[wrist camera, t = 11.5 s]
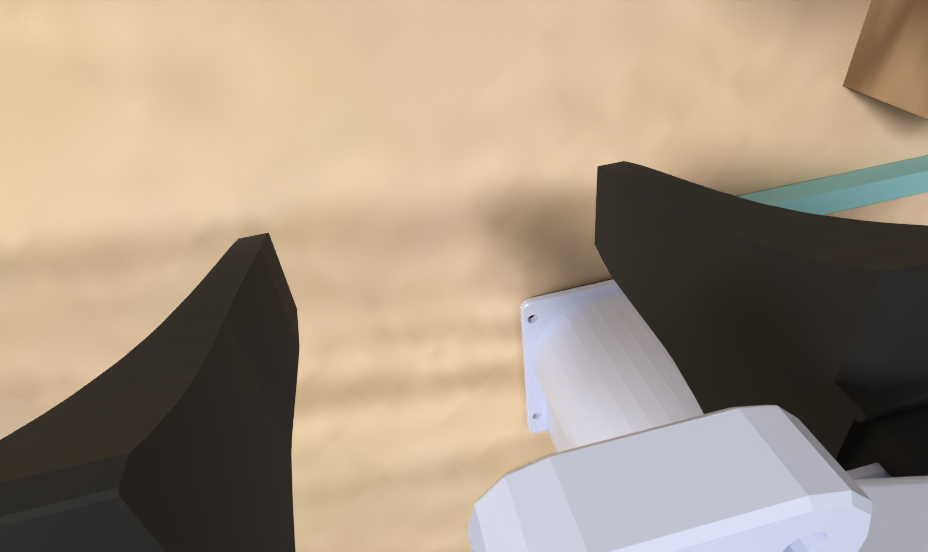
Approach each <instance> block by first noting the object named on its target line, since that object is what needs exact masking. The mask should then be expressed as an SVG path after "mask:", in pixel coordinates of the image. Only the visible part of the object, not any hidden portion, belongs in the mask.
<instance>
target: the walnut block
mask: <svg viewBox="0 0 928 552" xmlns="http://www.w3.org/2000/svg"><path fill="white" fill-rule="evenodd" d="M843 86H845V87H848V88H850V89H853V90H855V91H858V92H860V93H863V94H865V95H868V96H870V97H873V98H875V99H878V100H880V101H883V102H885V103H888V104H891V105H893V106H896V107H898V108H901V109H903V110H906V111H908V112H911V113H913V114H916V115H918V116H921V117H923V118H926V119H928V0H872V1H871V4H870V7H869V10H868V13H867V16H866V19H865V22H864V25H863V28H862V31H861V34H860V36H859V39H858V42H857V45H856V48H855V51H854V54H853V57H852V60H851V63H850V66H849V69H848V72H847V75H846V78H845V81H844V84H843Z"/></svg>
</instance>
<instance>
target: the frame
mask: <svg viewBox="0 0 928 552" xmlns="http://www.w3.org/2000/svg"><path fill="white" fill-rule="evenodd" d="M925 192H928V156H923V157H918V158H914V159H909V160H904V161H900V162H895V163H890V164H885V165H881V166H876V167H871V168H867V169H862V170H857V171H853V172H848V173H843V174H839V175H834V176H829V177H825V178H820V179H815V180H811V181H806V182H801V183H797V184H792V185H787V186H783V187H778V188H773V189H768V190H764V191H759V192H754V193H750V194H745V195H740V196H737V197H740V198H744V199H747V200H751V201H755V202H759V203H763V204H767V205H771V206H776V207H781V208H786V209H791V210H795V211H800V212H806V213H812V214H818V215H826V214H830V213H835V212H839V211H844V210H848V209H853V208H857V207H862V206H866V205H871V204H875V203H880V202H884V201H889V200H893V199H898V198H902V197H907V196H911V195H916V194H920V193H925Z"/></svg>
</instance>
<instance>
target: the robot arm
mask: <svg viewBox="0 0 928 552" xmlns="http://www.w3.org/2000/svg"><path fill="white" fill-rule="evenodd" d="M595 246H596V248H597V250H598V252H599V254H600V256H601V258H602V260H603V262H604V263H605V265H606V267H607V269H608V271H609V272H610V274H611V276H612V278H613V280H608V281H604V282H599V283H595V284H590V285H586V286H582V287H577V288H573V289H568V290H564V291H559V292H555V293H551V294H546V295H542V296H537V297H533V298H529V299H526V300H525V301H524V302H523V303H522V304H521V306H520V316H521V333H522V349H523V365H524V381H525V397H526V413H527V426H528V428H529V431H530V432H532V433H539V432H543V431H547V430H548V432H549V434H550V437H551V439H552V441H553V444H554V446H555V448H556V451H557V453H553V454H549V455H546V456H543V457H541V458H539V459H536V460H534V461H532V462H529V463H527V464H525V465H522V466H520V467H518V468H515V469H513V470H511V471H508V472H507V473H506V474H505V475H503V476H502V477H501V478H500V479H499V480H498V481H497V482H496V483H495V484H494V485H493V486H492V487H491V488H489V489H488V490H487V491H486V492H485V493H484V494H483V495H482V496H481V497H480V498H479V499H478V501H477V502H476V503H475V505H474V509H473V513H472V516H471V520H470V524H469V528H468V537H469V542H470V547H471V552H928V226H924V225H909V224H894V223H882V222H871V221H861V220H853V219H846V218H839V217H831V216H824V215H818V214H812V213H806V212H800V211H795V210H791V209H786V208H781V207H776V206H771V205H767V204H763V203H759V202H755V201H751V200H747V199H744V198H740V197H737V196H733V195H730V194H726V193H723V192H720V191H716V190H713V189H710V188H707V187H704V186H701V185H698V184H695V183H692V182H689V181H686V180H683V179H680V178H677V177H674V176H672V175H669V174H666V173H663V172H660V171H657V170H654V169H651V168H648V167H645V166H641V165H638V164H634V163H630V162H625V161H622V162H617V163H613V164H608V165H603V166H598V170H597V196H596V222H595ZM531 315H535V316H534V317H532V318H529V317H530V316H531ZM298 359H299V332H298V318H297V308H296V305H295V303H294V300H293V297H292V294H291V292H290V289H289V286H288V284H287V281H286V278H285V276H284V273H283V270H282V268H281V265H280V262H279V259H278V257H277V254H276V251H275V249H274V246H273V243H272V241H271V238H270V235H269V233H265V234H260V235H255V236H250V237H245V238H240V239H238V240H237V241H236V242H235V243H234V244H233V245H232V246H231V247H230V248H229V250H228V251H227V252H226V253H225V254H224V255H223V257H222V258H221V259H220V260H219V261H218V263H217V264H216V265H215V266H214V267H213V268H212V270H211V271H210V272H209V273H208V274H207V275H206V277H205V278H204V279H203V280H202V281H201V282H200V283H199V285H198V286H197V287H196V288H195V289H194V290H193V291H192V293H191V294H190V295H189V296H188V297H187V298H186V299H185V300H184V301H183V302H182V303H181V304H180V305H179V306H178V307H177V308H176V309H175V310H174V311H173V312H172V313H171V314H170V315H169V316H168V317H167V318H166V320H165V321H164V322H163V323H162V324H161V325H160V326H158V327H157V328H156V329H155V330H154V331H153V332H152V333H151V334H150V335H149V336H148V337H147V338H145V339H144V340H143V341H142V342H141V343H140V344H139V345H137V346H136V347H135V348H134V349H133V350H131V351H130V352H129V353H128V354H127V355H126V356H124V357H123V358H122V359H121V360H119V361H118V362H117V363H116V364H114V365H113V366H112V367H110V368H109V369H108V370H106V371H105V372H103V373H102V374H101V375H99V376H98V377H97V378H95V379H94V380H92V381H91V382H90V383H88V384H87V385H86V386H84V387H83V388H81V389H80V390H79V391H77V392H76V393H75V394H73V395H72V396H70V397H69V398H67V399H66V400H64V401H63V402H61V403H60V404H58V405H57V406H55V407H54V408H52V409H50V410H49V411H47V412H46V413H44V414H43V415H41V416H40V417H38V418H36V419H35V420H33V421H31V422H30V423H28V424H27V425H25V426H23V427H21V428H20V429H18V430H16V431H15V432H13V433H11V434H10V435H8V436H6V437H4V438H3V439H1V440H0V552H295V537H294V517H293V496H292V464H291V448H292V429H293V418H294V406H295V395H296V383H297V371H298Z"/></svg>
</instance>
